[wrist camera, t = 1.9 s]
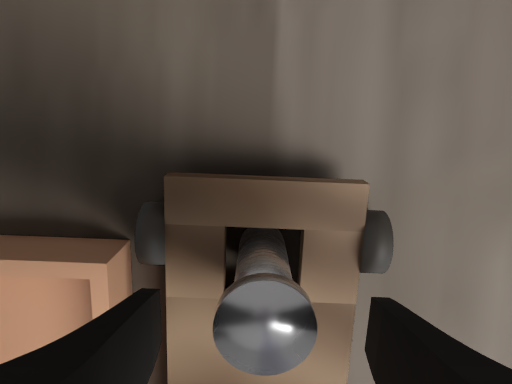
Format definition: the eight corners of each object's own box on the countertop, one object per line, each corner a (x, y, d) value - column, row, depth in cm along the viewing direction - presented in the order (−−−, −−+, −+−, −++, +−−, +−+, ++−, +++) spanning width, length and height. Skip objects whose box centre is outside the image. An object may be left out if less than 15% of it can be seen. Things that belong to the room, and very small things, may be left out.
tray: (138, 426, 21) (119, 476, 18) (-61, 419, 21) (-111, 468, 18) (130, 240, 19) (106, 263, 16) (-98, 230, 19) (-164, 253, 16)
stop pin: (292, 275, 19) (313, 377, 12) (229, 273, 19) (212, 373, 12) (296, 215, 18) (321, 284, 11) (231, 212, 18) (213, 280, 11)
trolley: (341, 486, 22) (367, 604, 17) (161, 479, 22) (130, 596, 17) (378, 175, 18) (429, 202, 12) (152, 166, 18) (107, 190, 12)
